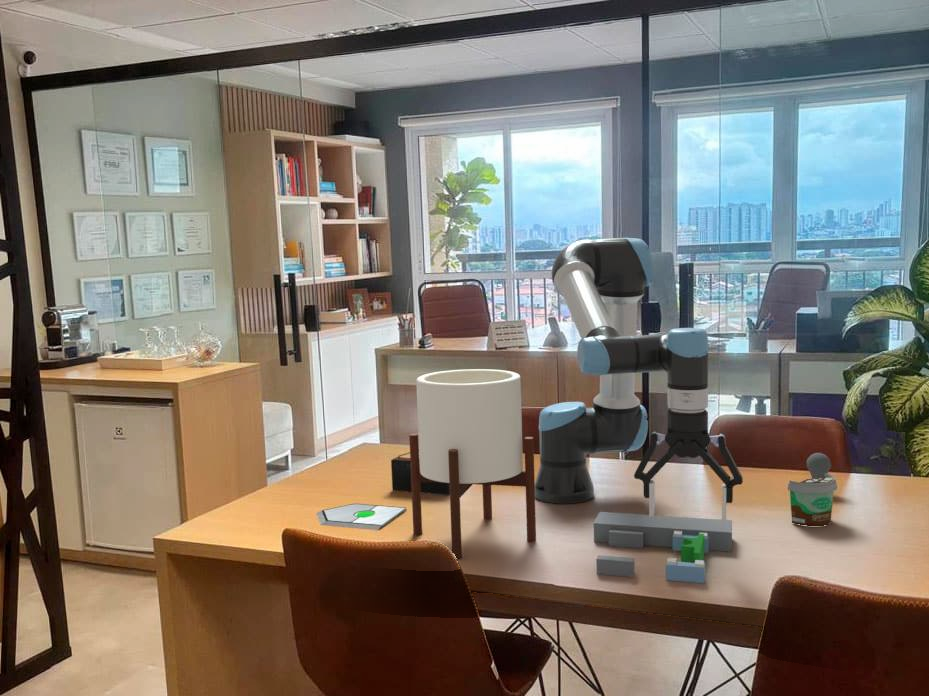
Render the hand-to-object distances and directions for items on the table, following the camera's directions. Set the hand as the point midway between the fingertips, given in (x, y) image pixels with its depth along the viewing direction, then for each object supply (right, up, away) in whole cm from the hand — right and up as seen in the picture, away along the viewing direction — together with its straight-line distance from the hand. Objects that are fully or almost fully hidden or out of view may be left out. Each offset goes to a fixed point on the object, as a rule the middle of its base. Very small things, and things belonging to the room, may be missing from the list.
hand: (687, 516), depth 164 cm
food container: (+35, -6, +22) cm, 42 cm away
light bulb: (+44, -3, +45) cm, 63 cm away
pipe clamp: (+1, -10, +1) cm, 10 cm away
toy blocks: (-4, -9, +6) cm, 12 cm away
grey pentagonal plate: (-71, -9, +39) cm, 81 cm away
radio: (-54, -5, +57) cm, 79 cm away
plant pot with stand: (-42, -9, +21) cm, 47 cm away
